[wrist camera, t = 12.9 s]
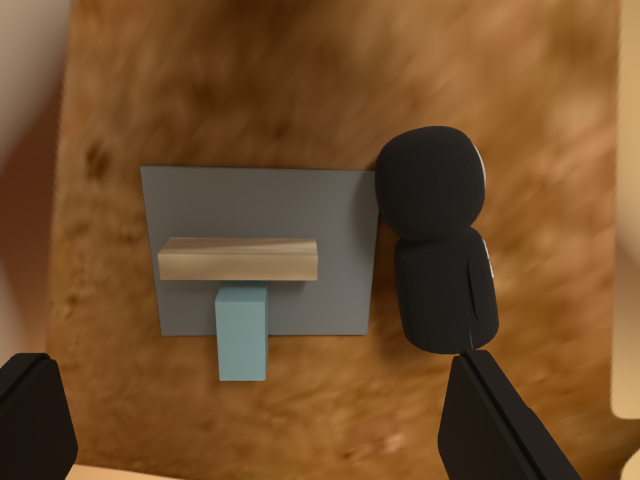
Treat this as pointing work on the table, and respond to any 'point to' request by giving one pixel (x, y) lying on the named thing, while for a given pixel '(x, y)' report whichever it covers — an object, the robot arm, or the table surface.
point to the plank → (238, 259)
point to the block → (242, 329)
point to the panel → (268, 222)
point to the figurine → (438, 238)
